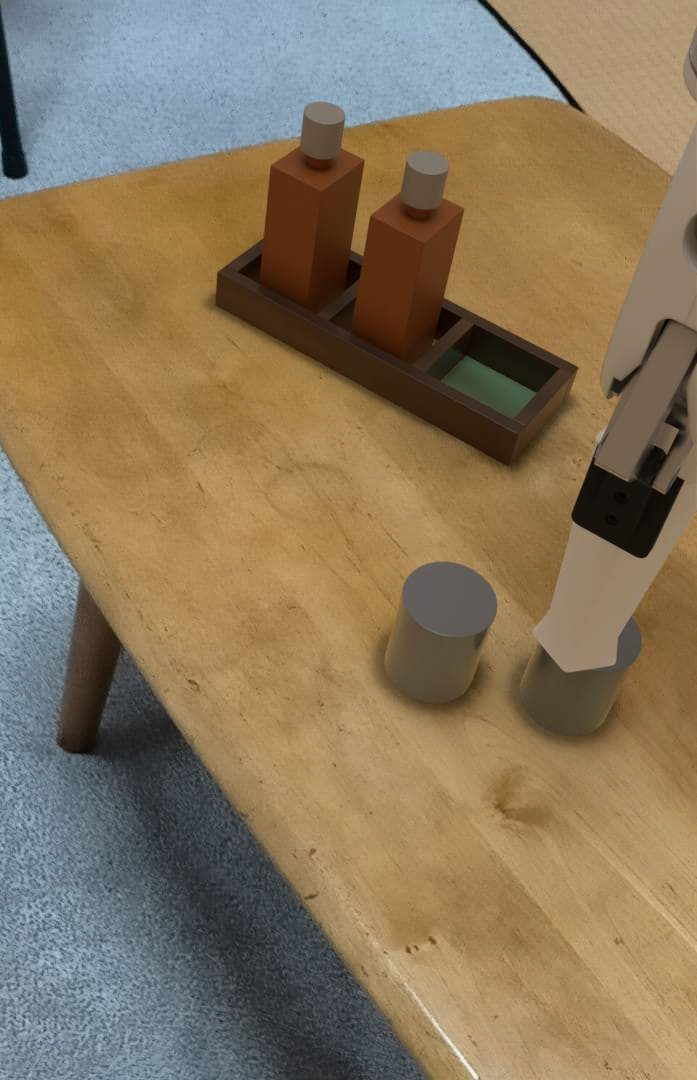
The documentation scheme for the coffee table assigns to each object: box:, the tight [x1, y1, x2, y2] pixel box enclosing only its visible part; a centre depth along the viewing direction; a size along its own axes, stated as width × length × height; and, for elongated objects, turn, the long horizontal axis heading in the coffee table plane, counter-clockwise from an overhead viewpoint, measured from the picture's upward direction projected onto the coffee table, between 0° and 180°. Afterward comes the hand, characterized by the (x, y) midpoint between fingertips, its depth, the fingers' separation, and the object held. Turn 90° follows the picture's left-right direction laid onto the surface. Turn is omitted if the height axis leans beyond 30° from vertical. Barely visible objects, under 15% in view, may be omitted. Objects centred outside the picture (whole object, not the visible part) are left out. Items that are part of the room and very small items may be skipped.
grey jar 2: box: [519, 615, 643, 737], centre depth 66 cm, size 5×5×7 cm
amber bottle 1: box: [259, 101, 366, 314], centre depth 82 cm, size 4×5×15 cm
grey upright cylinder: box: [383, 561, 498, 705], centre depth 66 cm, size 5×5×7 cm
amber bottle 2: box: [349, 149, 465, 365], centre depth 80 cm, size 4×5×15 cm
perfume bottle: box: [531, 390, 697, 672], centre depth 49 cm, size 5×4×15 cm
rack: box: [214, 237, 580, 467], centre depth 85 cm, size 9×24×4 cm, turn 56°
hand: (640, 492), depth 48 cm, fingers closed on perfume bottle, 4 cm apart
